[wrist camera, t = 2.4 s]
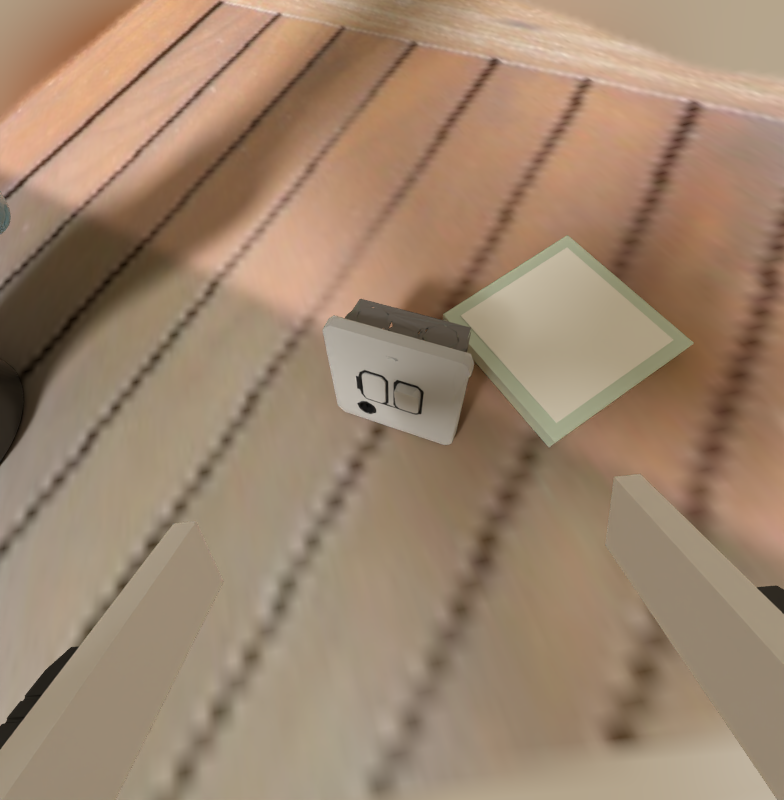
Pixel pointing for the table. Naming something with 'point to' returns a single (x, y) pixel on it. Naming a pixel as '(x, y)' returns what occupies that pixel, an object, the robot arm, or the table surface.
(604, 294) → the board
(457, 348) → the electrical switch
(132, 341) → the table surface
